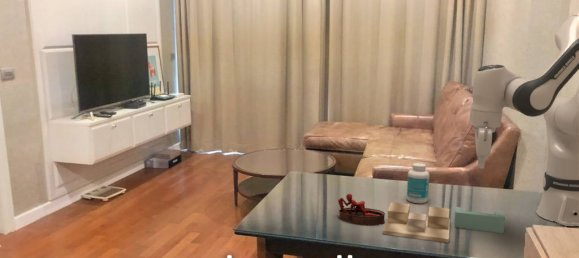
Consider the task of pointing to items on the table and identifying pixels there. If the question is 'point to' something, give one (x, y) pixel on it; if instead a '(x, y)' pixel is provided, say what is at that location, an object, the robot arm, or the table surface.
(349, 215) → the figurine
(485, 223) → the teal c-shaped bracket
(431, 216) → the display stand
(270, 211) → the table surface
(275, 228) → the table surface
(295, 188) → the table surface
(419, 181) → the pill bottle
